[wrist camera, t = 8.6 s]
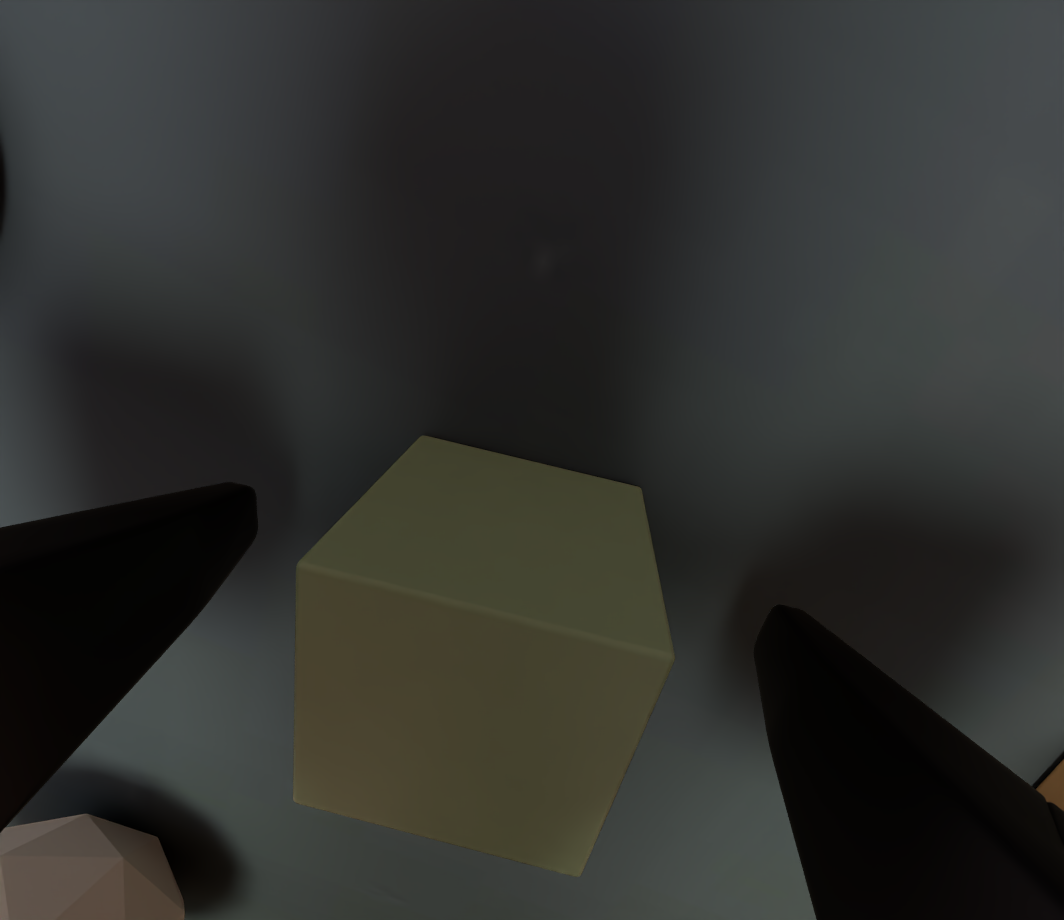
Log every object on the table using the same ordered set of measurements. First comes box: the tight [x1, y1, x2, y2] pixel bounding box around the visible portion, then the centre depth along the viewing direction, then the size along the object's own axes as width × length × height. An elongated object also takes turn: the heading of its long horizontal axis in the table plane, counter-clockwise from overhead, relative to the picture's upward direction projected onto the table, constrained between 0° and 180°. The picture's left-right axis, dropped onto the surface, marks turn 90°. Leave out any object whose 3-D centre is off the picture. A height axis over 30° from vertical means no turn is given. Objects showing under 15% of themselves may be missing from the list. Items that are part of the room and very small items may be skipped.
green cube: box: [293, 436, 675, 877], centre depth 8 cm, size 4×4×4 cm
